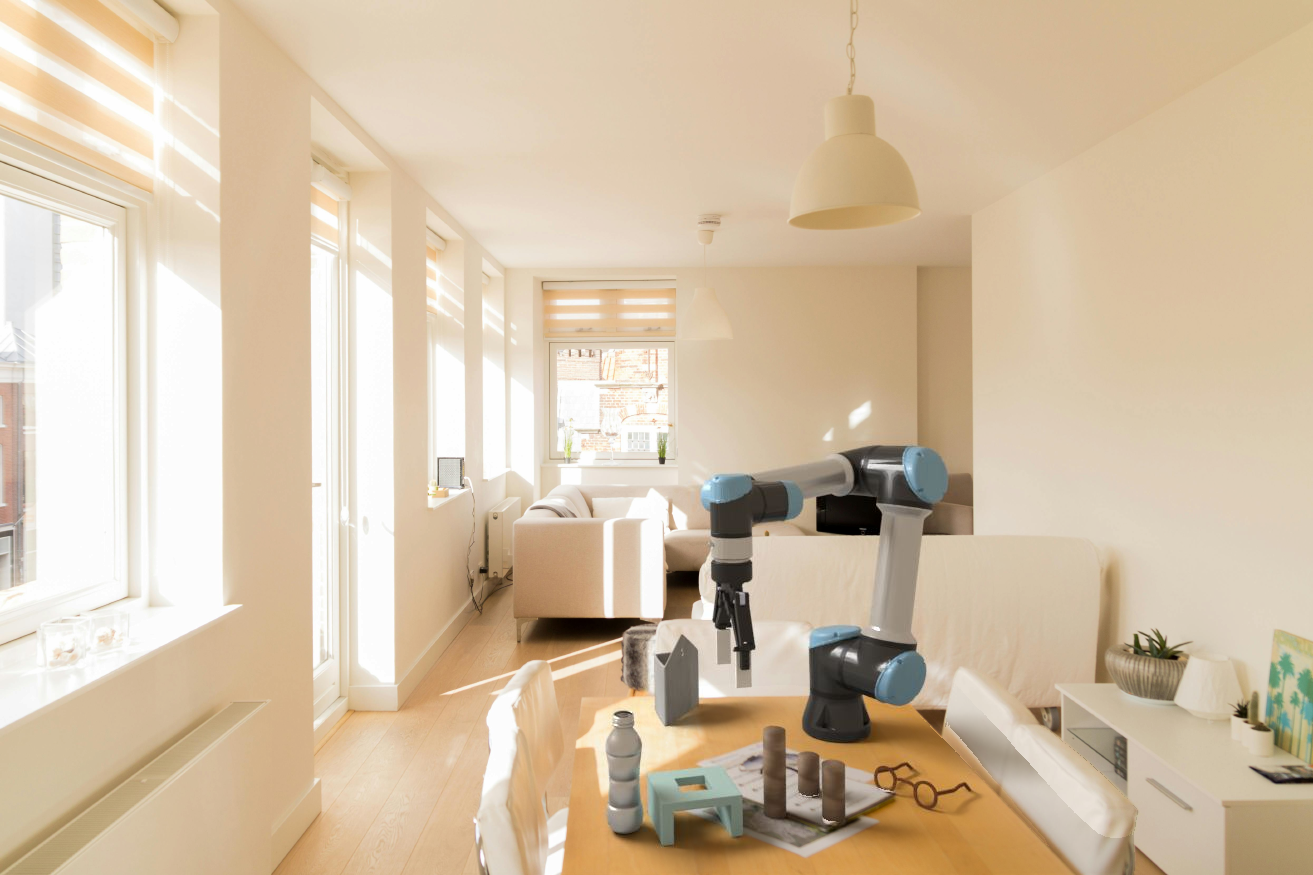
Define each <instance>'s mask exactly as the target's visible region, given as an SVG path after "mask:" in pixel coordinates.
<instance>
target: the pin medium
mask: <svg viewBox="0 0 1313 875" xmlns="http://www.w3.org/2000/svg"><path fill="white" fill-rule="evenodd" d="M822 817H823V818H824V819H826V820H828V821H836V822H839V823H837V825H836V827H838V828H839V827H843V826H844V825H846V820H845V818H846V764H845V762H843V761H841V760H839V759H838V760H837V759H825V760H823V761H822V762H821V818H822ZM846 819H847V818H846ZM836 827H835V828H836Z"/></svg>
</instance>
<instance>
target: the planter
mask: <svg viewBox="0 0 1313 875" xmlns="http://www.w3.org/2000/svg"><path fill="white" fill-rule="evenodd" d="M653 672H654V673H653V674H654V675H653V676H654V677H653V678H654V711H655V713H656V716H657V717H658V719H659V720H660V721H661V723H662V724H663V726H664V727H668V726H669V725H670V724H673V723H674V722H675V721H676V720H678V719H680V718H681V717H683V716H684V715H685V714H687V713H689V712H690V711H691V710H693V709H694V708H696V707H698V705H699V704H700V697H699V695H700V691H699V690H700V688H699V685H700V684H699V680H700V679H699V673H700V672H699V649H698V648H697V647H696V645H694V643H692V641H690V640H689V639H688V638H687V637H686V636H685V634H683V633H681V634H680V635H679V636H678V638H677V641H676V643H675V644H674V646H673V649H672V650H671V651H669V652H662V653H661V652H660V653H655V654H653Z"/></svg>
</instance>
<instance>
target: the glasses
mask: <svg viewBox="0 0 1313 875" xmlns="http://www.w3.org/2000/svg"><path fill="white" fill-rule="evenodd" d="M905 766H906V767H907V768H908V769H909V770H910V771H911V770H913V769H914V767H913V766H912V765H911V764H910V763H909V762H907V761H904V762H900V763H899V764H898V765H896V766H887V765H879V766H878V767H877V768H876V769H875V770H874V774H873V780H874V781H873V782H874V785H875V786H876V788H877V787H878V788H881V789H884V790H887V789H886V788H884V787H882V785H881V784H880V783H879V780H878V778H879V776H878V775H879V774H883V773H890V775H891V777H892V780H893V781H892V785H891V787H890V788H889V789H888V790H890V791H893V792H894V791H895V789H896V787H897V783H898V782H901V783H904V784H906V785H909V786H910V787H911V788H912V789H913V793H912V794H913V799H914V801H915V803H916V805H918V806H919V807H920V808H922V809H925V810H932V809H934V808H935V807H936V806H937V804H938V801H939V800H938V798H939V797H940V796H944V795H948V794H954V793H956V792H957V791H958V790H959V789H960V788H963V787H964V788H965V789H966V791H968V792H970V791H972V789H971V787H970V786H969V784H968V783H967V782H966V781H963V782H960V783H958V784H957V785H956V786H954V787H953V788H949V789H948V788H947V789H944V790H940V791H939V790H938V791H937V789H936V787H935V786H934V785H933V783H931V782H929V781H927V780H919V781H916V782H915V783H914V782H912V781H910V780H908V779H906V778H903V777H897V776H898V775H897V774H896V773H895V771H898V770H900V769H901V768H904V767H905ZM921 785H926V786H928V787H929V788H930V789H931V790H932V793H933V802H932V803H931V804H930V805H925V804H924V803H922V802H921V801H920V800H919V797H918V788H919V786H921ZM878 788H877V789H878Z"/></svg>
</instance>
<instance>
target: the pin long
mask: <svg viewBox="0 0 1313 875" xmlns="http://www.w3.org/2000/svg"><path fill="white" fill-rule="evenodd" d="M786 732H787V731H786V729H785V727H782V726H779V725H768V726H765V727H763V728H762V760H763V761H762V763H763V764H762V765H763V766H762V767H763V768H762V769H763V770H762V771H763V772H762V773H763V774H762V775H763V780H762V784H763V815H764V816H766V817H767V818H770V819H773V820H774V819H775V820H778V819H779V820H780V819H783V818H785V817H786V816H787V759H786V758H787V755H786V754H787V748H786V747H787V746H786V744H787V743H786V738H787V737H786V736H787V735H786V734H787V733H786Z"/></svg>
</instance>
